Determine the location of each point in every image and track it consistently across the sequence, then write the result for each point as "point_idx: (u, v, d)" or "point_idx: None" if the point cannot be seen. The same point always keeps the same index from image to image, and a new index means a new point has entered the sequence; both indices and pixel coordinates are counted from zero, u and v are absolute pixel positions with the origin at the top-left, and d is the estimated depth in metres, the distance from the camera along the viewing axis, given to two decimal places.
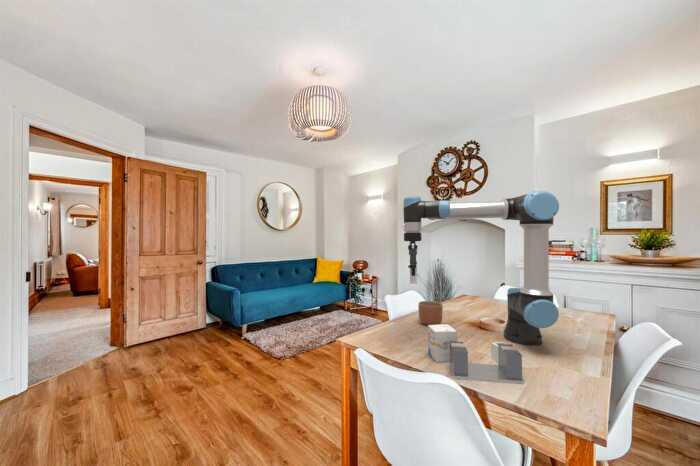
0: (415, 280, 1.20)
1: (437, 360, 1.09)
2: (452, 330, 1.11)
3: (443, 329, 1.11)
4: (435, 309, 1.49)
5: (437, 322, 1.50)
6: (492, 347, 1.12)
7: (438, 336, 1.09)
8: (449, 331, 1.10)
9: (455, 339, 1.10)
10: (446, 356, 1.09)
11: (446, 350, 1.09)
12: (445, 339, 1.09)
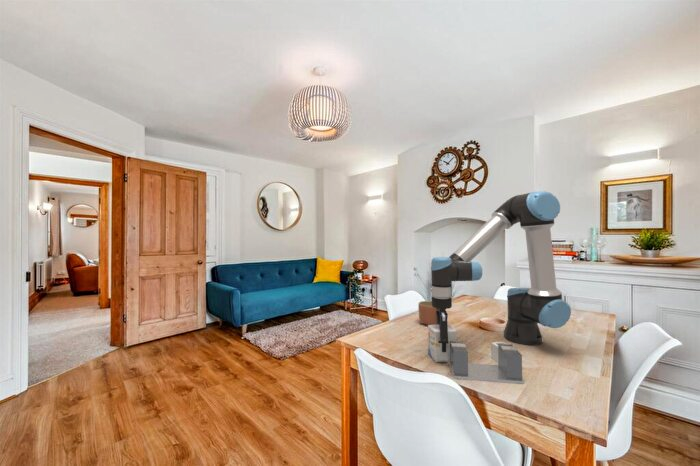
0: (446, 356, 1.08)
1: (437, 360, 1.09)
2: (452, 330, 1.11)
3: None
4: (435, 309, 1.49)
5: None
6: (492, 347, 1.12)
7: (438, 335, 1.09)
8: (449, 331, 1.10)
9: (455, 339, 1.10)
10: None
11: None
12: None
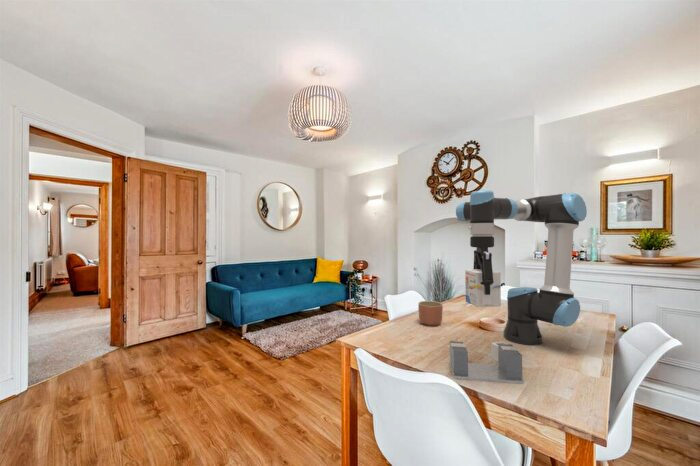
0: (489, 300, 0.95)
1: (478, 305, 0.96)
2: (495, 271, 0.98)
3: None
4: (435, 309, 1.49)
5: (437, 322, 1.50)
6: (492, 347, 1.12)
7: (480, 277, 0.96)
8: None
9: (499, 281, 0.97)
10: None
11: None
12: None
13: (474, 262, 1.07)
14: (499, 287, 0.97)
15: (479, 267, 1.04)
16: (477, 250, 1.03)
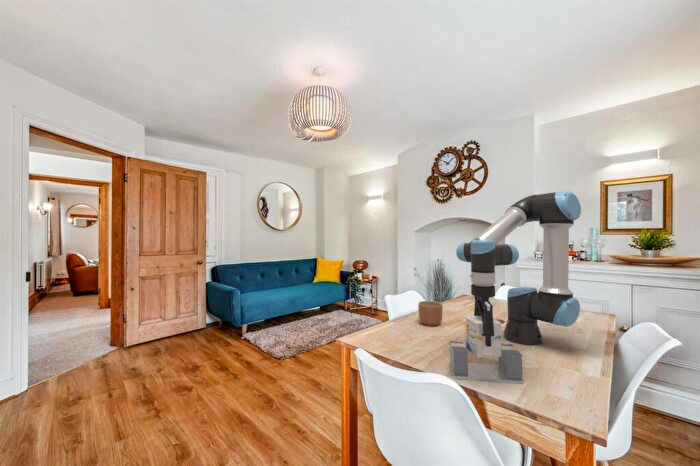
0: (490, 351, 0.95)
1: (479, 355, 0.96)
2: (496, 321, 0.98)
3: None
4: (435, 309, 1.49)
5: (437, 322, 1.50)
6: None
7: (481, 328, 0.96)
8: (493, 322, 0.97)
9: (500, 332, 0.97)
10: None
11: None
12: None
13: (475, 308, 1.07)
14: (500, 337, 0.97)
15: (480, 314, 1.04)
16: (478, 298, 1.03)
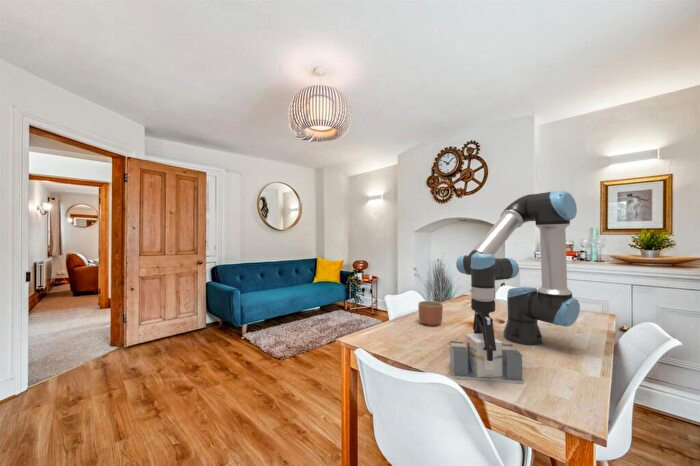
0: (492, 366, 0.93)
1: (479, 375, 0.96)
2: (496, 341, 0.97)
3: None
4: (435, 309, 1.49)
5: (437, 322, 1.50)
6: None
7: (481, 347, 0.96)
8: None
9: (500, 351, 0.96)
10: (490, 370, 0.96)
11: None
12: None
13: (474, 319, 1.07)
14: (500, 357, 0.96)
15: (479, 326, 1.05)
16: (478, 313, 1.02)
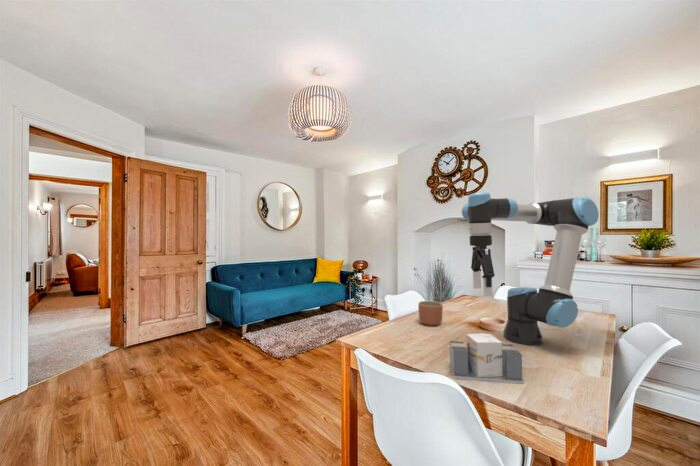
0: (491, 292, 1.01)
1: (479, 375, 0.96)
2: (496, 341, 0.97)
3: (486, 339, 0.98)
4: (435, 309, 1.49)
5: (437, 322, 1.50)
6: None
7: (481, 347, 0.96)
8: (493, 342, 0.96)
9: (500, 351, 0.96)
10: (490, 370, 0.96)
11: (490, 363, 0.96)
12: (489, 351, 0.96)
13: (472, 257, 1.15)
14: (500, 357, 0.96)
15: (477, 262, 1.12)
16: (476, 249, 1.10)
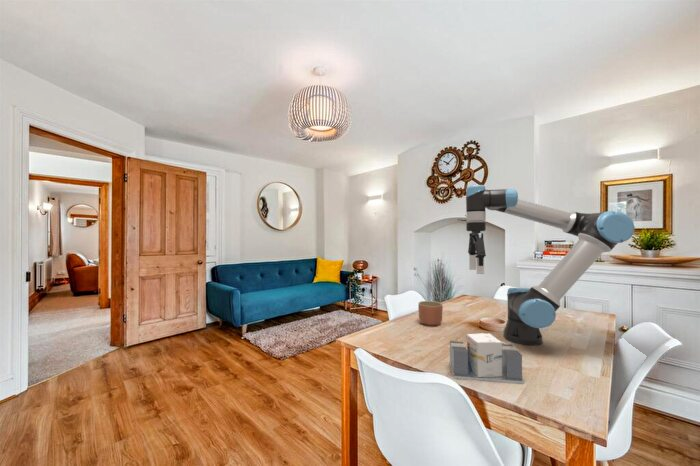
0: (482, 270, 1.17)
1: (479, 375, 0.96)
2: (496, 341, 0.97)
3: (486, 339, 0.98)
4: (435, 309, 1.49)
5: (437, 322, 1.50)
6: None
7: (481, 347, 0.96)
8: (493, 342, 0.96)
9: (500, 351, 0.96)
10: (490, 370, 0.96)
11: (490, 363, 0.96)
12: (489, 351, 0.96)
13: (469, 242, 1.31)
14: (500, 357, 0.96)
15: (473, 246, 1.29)
16: (472, 234, 1.26)
